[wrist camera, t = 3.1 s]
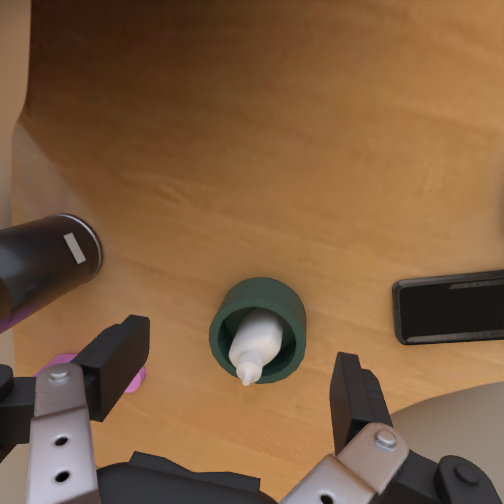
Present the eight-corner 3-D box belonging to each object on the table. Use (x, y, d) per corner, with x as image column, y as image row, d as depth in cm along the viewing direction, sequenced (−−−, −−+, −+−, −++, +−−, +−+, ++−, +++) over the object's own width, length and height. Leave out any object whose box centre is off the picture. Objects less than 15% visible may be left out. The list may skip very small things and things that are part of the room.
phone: (544, 337, 37) (397, 346, 40) (537, 331, 38) (395, 340, 41) (549, 269, 34) (394, 284, 37) (542, 265, 36) (391, 280, 38)
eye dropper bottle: (285, 334, 42) (277, 404, 31) (241, 333, 43) (217, 400, 32) (284, 303, 41) (276, 363, 30) (239, 301, 42) (214, 360, 31)
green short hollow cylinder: (218, 345, 45) (206, 374, 39) (225, 271, 41) (212, 291, 36) (298, 359, 44) (297, 391, 38) (312, 284, 40) (312, 307, 35)
